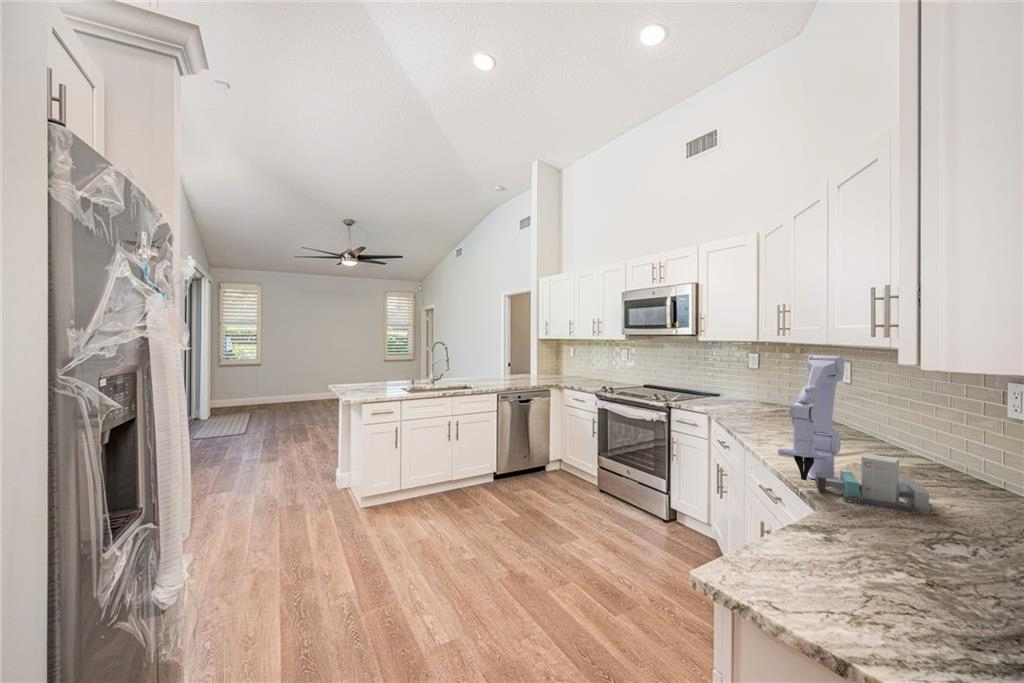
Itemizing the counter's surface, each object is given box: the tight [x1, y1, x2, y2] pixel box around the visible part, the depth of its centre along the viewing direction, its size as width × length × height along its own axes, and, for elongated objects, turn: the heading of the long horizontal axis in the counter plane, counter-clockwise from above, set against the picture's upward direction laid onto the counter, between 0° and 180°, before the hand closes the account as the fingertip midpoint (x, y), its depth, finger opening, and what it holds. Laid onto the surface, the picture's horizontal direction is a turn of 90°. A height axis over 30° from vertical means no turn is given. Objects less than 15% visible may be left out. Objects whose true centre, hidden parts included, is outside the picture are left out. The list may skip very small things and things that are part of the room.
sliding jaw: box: [815, 470, 860, 498], centre depth 133 cm, size 11×10×6 cm
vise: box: [842, 475, 930, 515], centre depth 127 cm, size 15×19×6 cm
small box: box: [860, 453, 900, 503], centre depth 127 cm, size 8×6×13 cm
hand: (803, 479), depth 137 cm, fingers closed
